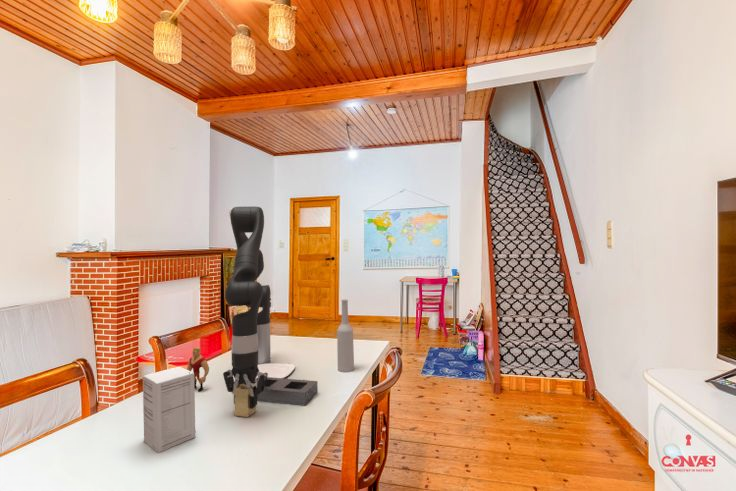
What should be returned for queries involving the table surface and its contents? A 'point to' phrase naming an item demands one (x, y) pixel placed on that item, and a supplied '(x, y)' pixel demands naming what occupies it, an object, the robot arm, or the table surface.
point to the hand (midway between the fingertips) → (245, 406)
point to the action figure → (198, 367)
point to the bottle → (345, 342)
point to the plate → (276, 370)
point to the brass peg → (242, 401)
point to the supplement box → (168, 408)
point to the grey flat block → (288, 391)
